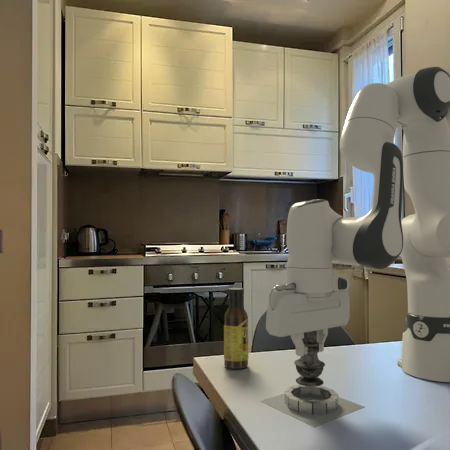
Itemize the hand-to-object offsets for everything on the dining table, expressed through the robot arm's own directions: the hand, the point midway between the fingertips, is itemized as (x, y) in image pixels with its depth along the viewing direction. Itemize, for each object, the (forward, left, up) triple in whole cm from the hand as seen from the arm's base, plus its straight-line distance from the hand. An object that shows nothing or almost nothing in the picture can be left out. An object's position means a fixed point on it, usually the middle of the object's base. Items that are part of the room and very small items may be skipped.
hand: (309, 353), depth 79 cm
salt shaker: (0, 0, -6) cm, 6 cm away
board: (0, 0, -10) cm, 10 cm away
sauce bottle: (-4, -29, -10) cm, 31 cm away
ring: (0, 0, -10) cm, 10 cm away
